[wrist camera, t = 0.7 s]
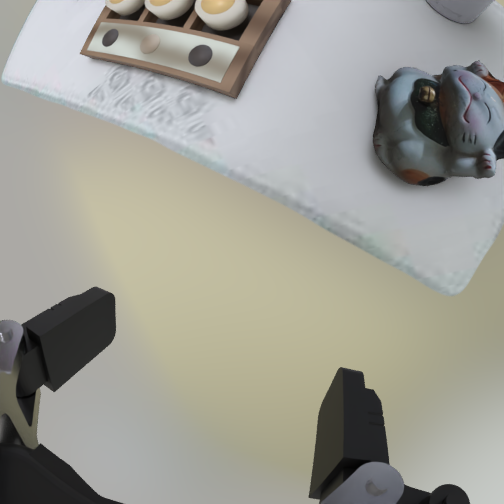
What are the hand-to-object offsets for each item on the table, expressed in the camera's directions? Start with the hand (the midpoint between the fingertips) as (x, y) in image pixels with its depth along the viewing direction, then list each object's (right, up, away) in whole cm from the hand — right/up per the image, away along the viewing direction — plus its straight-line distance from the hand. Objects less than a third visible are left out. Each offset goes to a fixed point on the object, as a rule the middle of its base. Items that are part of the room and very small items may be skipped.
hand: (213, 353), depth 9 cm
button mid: (-9, +36, +18) cm, 41 cm away
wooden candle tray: (-9, +35, +21) cm, 42 cm away
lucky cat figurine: (+22, +19, +19) cm, 34 cm away
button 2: (-2, +32, +17) cm, 36 cm away
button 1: (-16, +39, +19) cm, 46 cm away
